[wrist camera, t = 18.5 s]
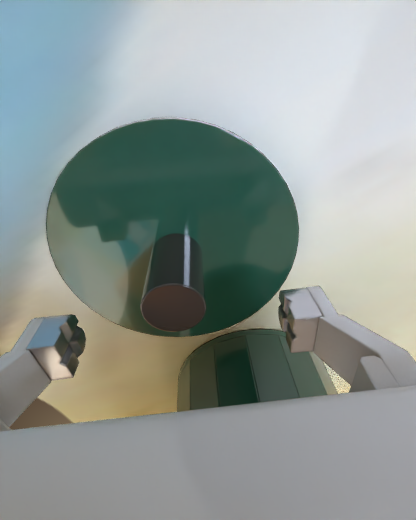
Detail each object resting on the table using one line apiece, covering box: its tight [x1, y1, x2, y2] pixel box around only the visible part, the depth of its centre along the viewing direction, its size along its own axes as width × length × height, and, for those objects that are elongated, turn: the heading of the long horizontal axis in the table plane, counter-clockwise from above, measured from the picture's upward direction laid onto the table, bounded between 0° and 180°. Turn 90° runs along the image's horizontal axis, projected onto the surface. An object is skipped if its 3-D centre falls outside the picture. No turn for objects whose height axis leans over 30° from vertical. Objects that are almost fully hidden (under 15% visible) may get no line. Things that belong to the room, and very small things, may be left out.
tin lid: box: [46, 117, 299, 337], centre depth 13 cm, size 13×13×5 cm
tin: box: [177, 329, 338, 412], centre depth 18 cm, size 12×17×10 cm
